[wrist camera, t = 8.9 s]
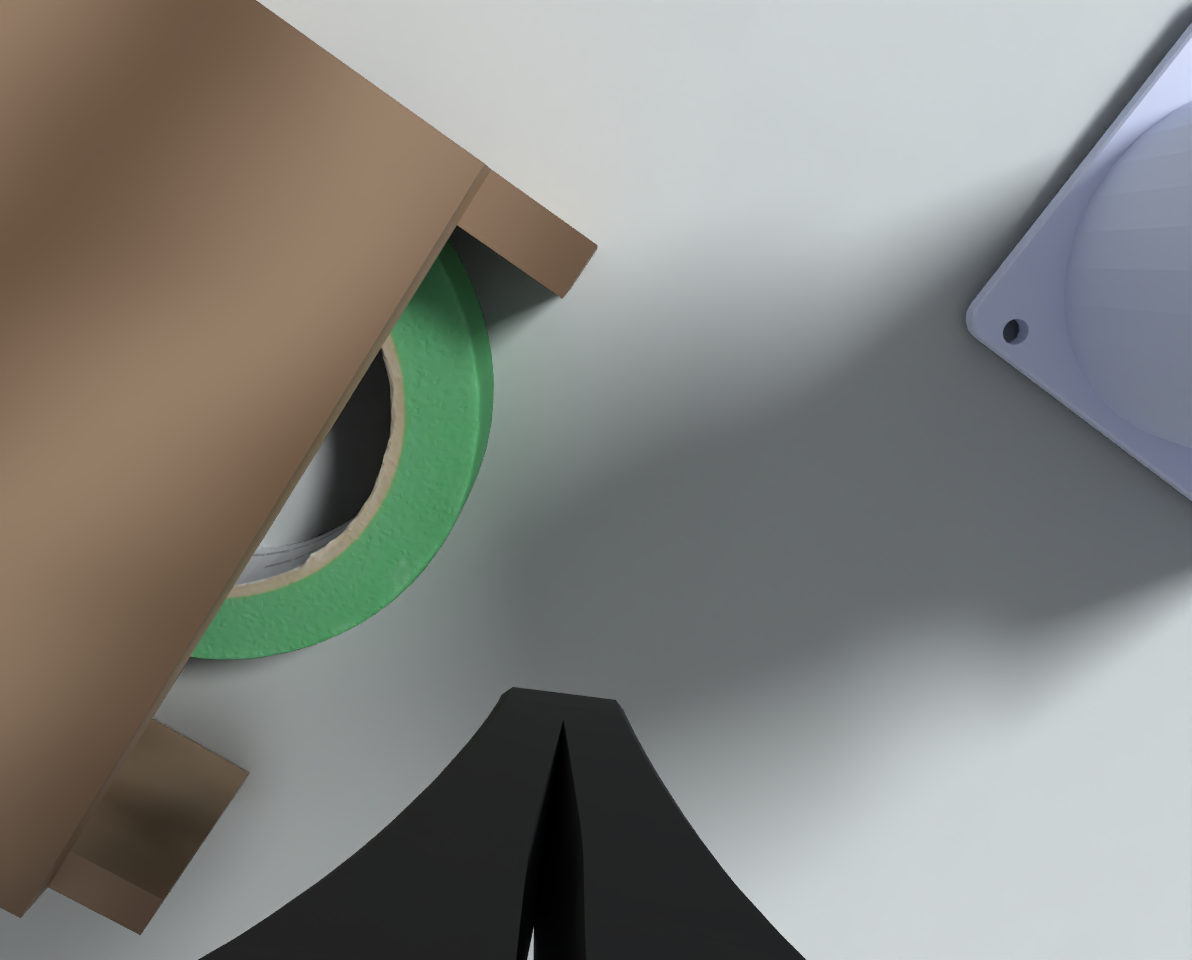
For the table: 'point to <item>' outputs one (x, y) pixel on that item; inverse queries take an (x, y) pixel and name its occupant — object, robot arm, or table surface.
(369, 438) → the table surface
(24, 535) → the low shelf
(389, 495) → the tape roll
